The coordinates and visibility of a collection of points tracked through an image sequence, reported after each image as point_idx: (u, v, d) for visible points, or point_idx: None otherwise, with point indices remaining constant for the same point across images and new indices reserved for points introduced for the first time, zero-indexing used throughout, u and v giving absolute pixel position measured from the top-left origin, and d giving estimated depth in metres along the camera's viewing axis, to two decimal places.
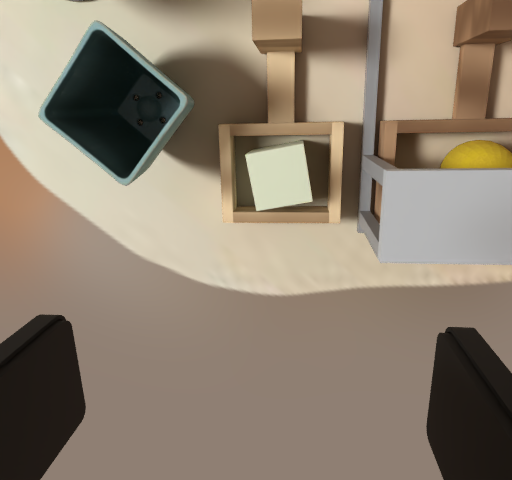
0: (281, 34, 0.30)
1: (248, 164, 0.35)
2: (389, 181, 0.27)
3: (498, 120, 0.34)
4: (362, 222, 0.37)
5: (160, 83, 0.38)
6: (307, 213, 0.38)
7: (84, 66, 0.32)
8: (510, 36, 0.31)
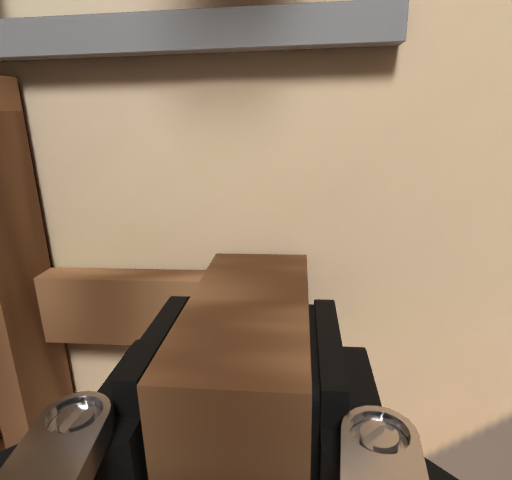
0: None
1: None
2: None
3: (13, 380, 0.13)
4: None
5: None
6: None
7: None
8: None
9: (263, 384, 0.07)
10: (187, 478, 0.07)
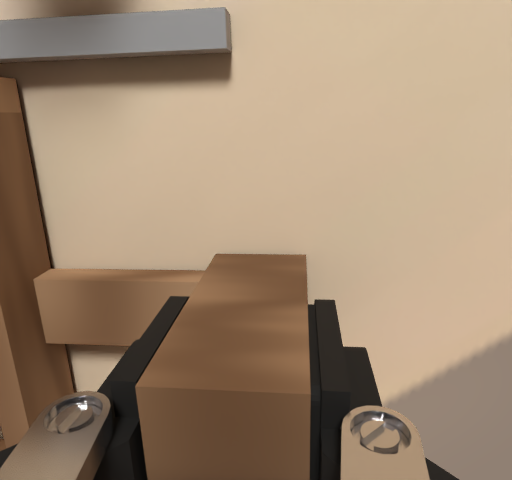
0: None
1: None
2: None
3: (14, 382, 0.13)
4: None
5: None
6: None
7: None
8: None
9: (261, 385, 0.07)
10: (186, 478, 0.07)
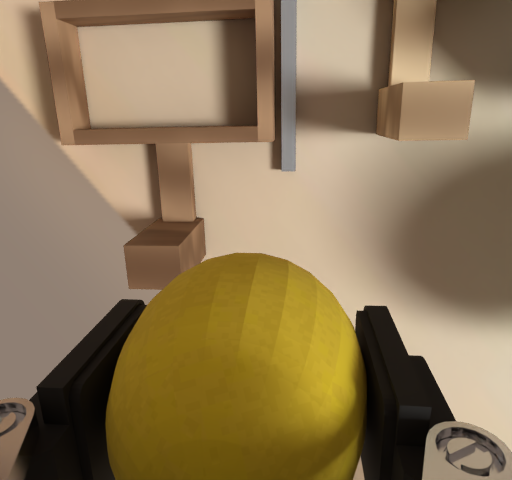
0: (431, 87, 0.21)
1: None
2: None
3: (141, 142, 0.28)
4: None
5: None
6: None
7: None
8: (152, 232, 0.29)
9: None
10: (149, 257, 0.26)
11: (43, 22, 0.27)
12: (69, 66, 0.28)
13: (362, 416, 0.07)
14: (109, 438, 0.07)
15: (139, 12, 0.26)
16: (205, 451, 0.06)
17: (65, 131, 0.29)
